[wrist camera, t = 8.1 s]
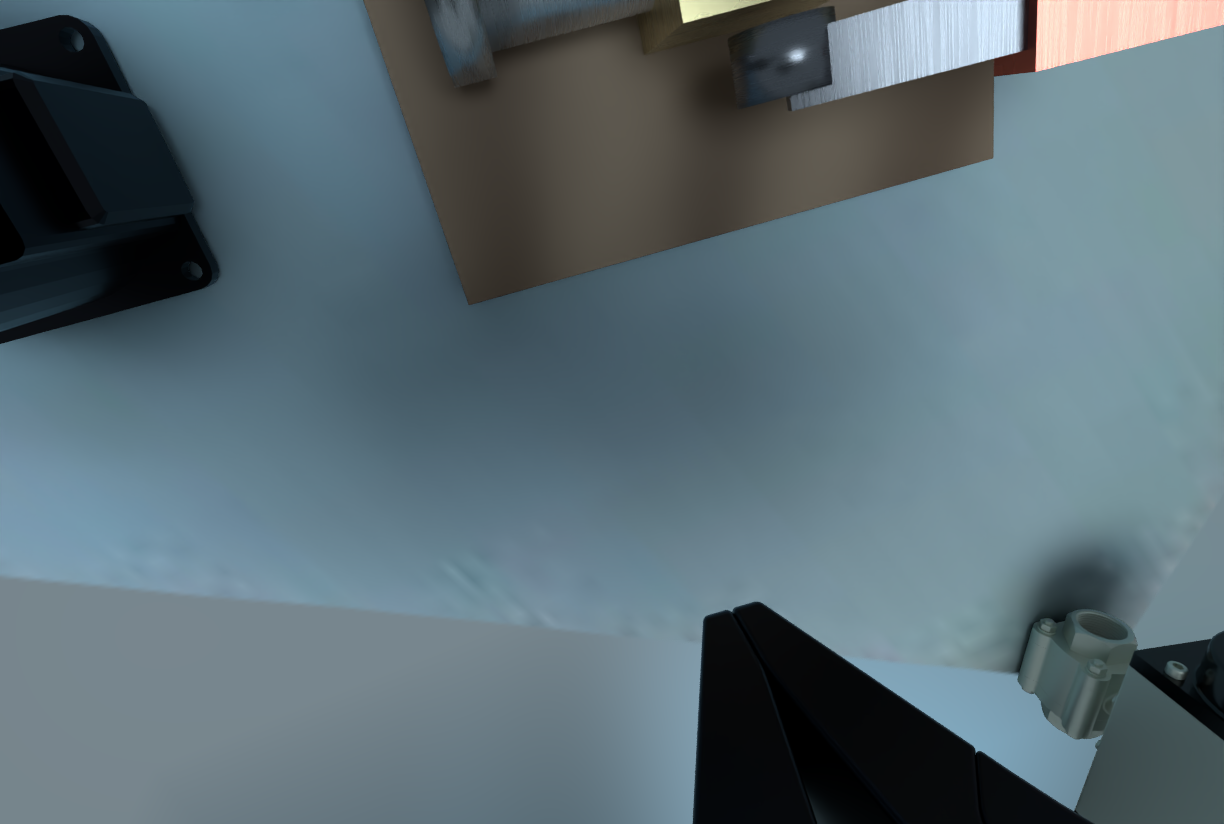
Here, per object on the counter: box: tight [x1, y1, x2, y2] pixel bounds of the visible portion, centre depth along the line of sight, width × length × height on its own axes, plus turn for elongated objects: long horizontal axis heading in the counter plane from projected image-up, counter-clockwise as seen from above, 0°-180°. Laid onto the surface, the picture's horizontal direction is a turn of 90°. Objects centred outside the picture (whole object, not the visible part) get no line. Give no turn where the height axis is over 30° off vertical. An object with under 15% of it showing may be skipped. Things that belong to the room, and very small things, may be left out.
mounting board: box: [363, 0, 994, 305], centre depth 16 cm, size 16×11×1 cm
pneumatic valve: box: [1018, 609, 1224, 824], centre depth 23 cm, size 6×12×12 cm, turn 1°
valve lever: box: [728, 0, 1224, 111], centre depth 12 cm, size 2×2×11 cm
